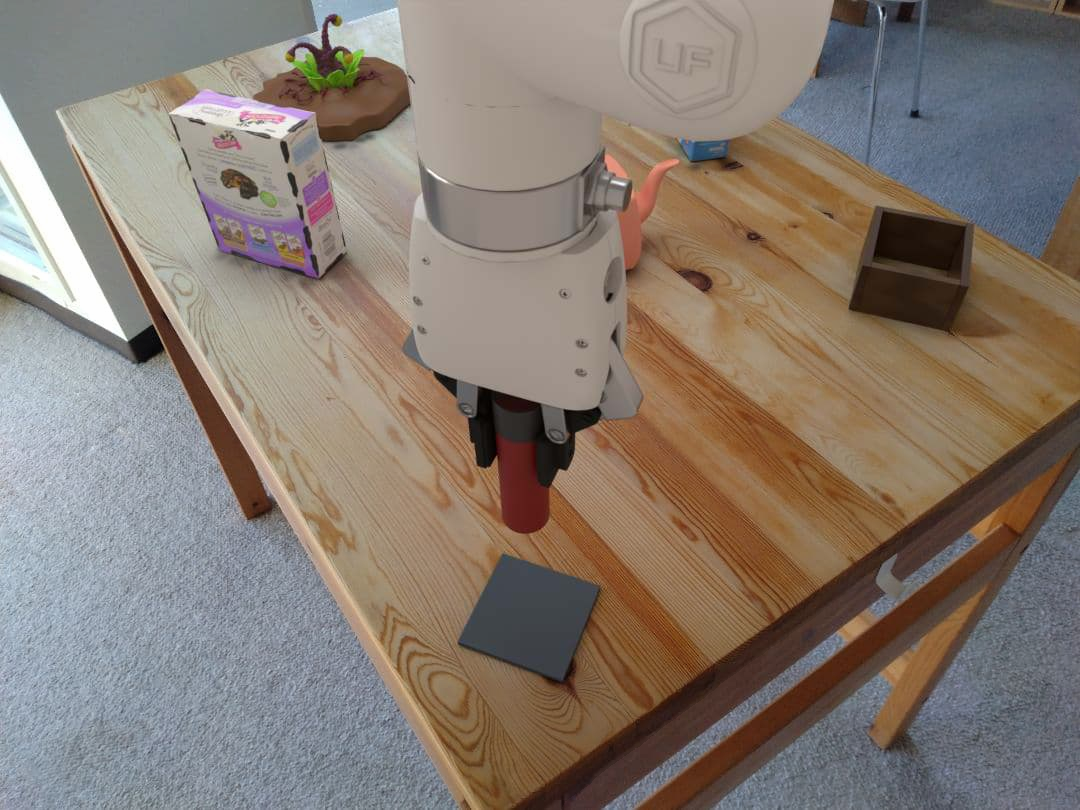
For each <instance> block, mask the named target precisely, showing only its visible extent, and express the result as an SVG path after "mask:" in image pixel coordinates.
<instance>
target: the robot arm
mask: <svg viewBox="0 0 1080 810" xmlns="http://www.w3.org/2000/svg"><path fill="white" fill-rule="evenodd" d="M396 4H397V11H398V21H399V26H400V35H401V42H402V48H403V49H402V50H403V55H404V56H403V57H404V64H405V74H406V75H407V80H408V87H409V95H410V102H411V103H410V107H411V108H410V109H411V116H412V123H413V130H414V137H415V145H416V151H417V152H416V153H417V162H418V163H417V164H418V170H419V177H420V185H421V192H420V194H419V195H418V196H417V198H416V200H415V203H414V206H413V212H412V213H413V214H412V219H411V229H410V238H409V251H408V252H409V254H408V255H409V256H408V284H409V285H408V286H409V287H408V289H409V305H410V306H409V307H410V314H411V325H412V329H411V331H410V333H409V334H408V336H407V337H406V339H405V341H404V342H403V344H402V346H401V351H402V352H403V354H404V355H405V356H406V357H407V358H409V359H410V360H412V361H414V362H415V363H416V364H418V365H419V366H421V367H422V368H424V369H425V370H427V371H428V372H431V371H432V372H433V376H434V378H435V379H436V381H438V382H439V384H441V385H442V386H443V388H445V389H446V390H447V392H449V393H450V394H451V395H452V396H453V397H454V398H455V399H456V404H455V405H456V410H457V411H458V412H459V414H461V415H462V416H464V417H465V418H467V424H468V430H469V432H468V433H469V440H470V444H471V443H472V444H474V453H475V462H476V463H475V465H476V466H477V467H478V468H482V469H487V468H491V467H492V465H493V464H494V461H495V459H496V458H497V447H496V435H495V428H494V421H493V409H492V396H491V393H492V390H495V391H499V392H502V393H506V394H509V395H513V396H516V397H520V398H524V399H527V400H531V401H535V402H538V403H541V407H542V413H543V419H544V427H543V429H542V431H541V433H540V435H539V437H538V439H537V443H536V447H537V482H538V483H540V486H543V487H546V488H549V489H550V488H551V486H552V484H553V483H554V480H555V478H556V476H557V475H558V472H559V470H561V471H563V472H564V471H565V472H567V471H568V470H569V468H570V466H571V464H572V462H573V459H574V456H575V452H576V433H579V432H581V431H584V430H586V429H589V428H590V427H593V426H596V425H597V424H598V423H599V421H604V420H605V421H606V422H610V421H620V420H630V419H634V418H636V417H637V415H638V414H639V413H638V412H639V410H640V408H641V406H642V404H643V401H644V398H645V397H644V394H643V392H642V390H641V388H640V386H639V384H638V382H637V381H636V379H635V377H634V375H633V373H632V371H631V370H630V367H629V366H628V364H627V362H626V360H625V359H624V354H625V351H626V345H627V338H628V337H627V335H628V295H627V276H626V275H627V274H626V270H625V262H624V251H623V244H622V237H621V231H620V225H619V220H618V216H617V212H616V211H620V212H625V211H626V210H627V208H628V205H629V202H630V199H631V194H632V186H633V180H632V179H631V178H629V179H626V178H621V177H616V174H615V173H613V172H608V168H607V164H606V163H605V154H606V145H602V144H601V143H602V127H603V126H602V123H603V122H602V121H603V115H604V116H607V117H609V118H612V119H615V120H617V121H620V122H623V123H625V124H628V125H630V126H634V127H636V128H639V129H642V130H643V131H644V130H645V131H648V132H650V133H654V134H658V135H660V136H661V135H662V136H664V137H668V138H674V139H676V140H677V139H684V140H692V141H720V140H727V139H729V140H732V139H735V138H739V137H743V136H746V135H748V134H750V133H753V132H756V131H757V130H759V129H761V128H764V126H767V125H768V124H770V123H771V122H773V121H774V120H775V119H777V118H778V117H779V116H780V115H781V114H783V113H784V112H785V111H786V110H787V109H788V108H789V107H790V106H791V105H792V104H793V103H794V102H795V100H796V99H797V98H798V97H799V95H800V94H801V93H802V92H803V91H804V89H805V87H806V85H807V84H808V82H809V81H810V79H811V77H812V75H813V73H814V70H815V68H816V66H817V64H818V62H819V59H820V57H821V55H822V51H823V48H824V44H825V40H826V37H827V35H828V30H829V27H830V21H831V16H832V12H833V7H834V4H835V0H396Z"/></svg>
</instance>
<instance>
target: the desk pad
mask: <svg viewBox="0 0 1080 810" xmlns="http://www.w3.org/2000/svg"><path fill="white" fill-rule="evenodd" d="M600 590H601V585H600V584H597V583H594V582H590V581H588V580H584V579H582V578H578V577H575V576H572V575H570V574H566V573H563V572H560V571H557V570H555V569H552V568H548V567H545V566H543V565H540V564H536V563H533V562H530V561H527V560H524V559H522V558H518V557H516V556H512V555H509V554H507V553H501V555H500V557H499V559H498V561H497V563H496V564H495V567H494V569H493V571H492V573H491V575H490V576H489V579H488V581H487V582H486V585H485V587H484V588H483V591H482V592H481V594H480V596H479V598H478V601H477V602H476V604H475V606H474V608H473V610H472V612H471V614H470V616H469V618H468V620H467V622H466V624H465V626H464V627H463V630H462V632H461V634H460V636H459V638H458V639H457V644H458V645H459V646H462V647H465V648H467V649H470V650H473V651H475V652H478V653H480V654H482V655H485V656H486V655H487V656H489V657H492V658H493V659H497V660H500V661H502V662H505V663H507V664H511V665H513V666H516V667H518V668H521V669H524V670H527V671H530V672H531V673H535V674H538V675H541V676H543V677H546V678H549V679H551V680H554V681H557V682H559V683H564V680H565V678H566V676H567V673H568V671H569V668H570V665H571V663H572V660H573V658H574V655H575V653H576V651H577V648H578V645H579V643H580V641H581V638H582V635H583V633H584V630H585V628H586V626H587V623H588V620H589V618H590V615H591V613H592V611H593V609H594V606H595V603H596V600H597V598H598V595H599V593H600Z"/></svg>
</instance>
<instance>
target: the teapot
mask: <svg viewBox="0 0 1080 810" xmlns="http://www.w3.org/2000/svg"><path fill="white" fill-rule="evenodd" d="M605 163H606V164H607V168H608V172H613V173H615V174H616V177H621V178H626V179H630V178H629V176H628V174H627V173H626V172H625V170H624V169H623V167H622V166H621V165H620V164H619V163H618V161H617V160H616V159H615V158H614V157H612V156H611V155H610V154H608V153H605ZM679 163H680V160H679V159H677V158H671V159H667V160H664V161H661V162H659V163H657V164H656V165H655V166H654V167H653V168H651V171H650V172H649V173H648V176H647V177H646V179H645V182H644V183H643V185H642V187H641V188H640V189H639V190H638V192H635V189H634V186H633V185H632V194H631V199H630V202H629V205H628V208H627V210H626V211H625V212H620V211H616V212H617V216H618V220H619V225H620V231H621V237H622V244H623V251H624V262H625V271H628V270H631V269H634V268H635V267H636V266H637V263H638V262H639V260H640V258H641V255H642V247H643V246H642V243H643V235H642V234H643V233H642V224H643V223H645V221H646V220H648V218H649V217H650V216H651V214H652V212H653V211H654V208H655V206H656V203H657V198H658V194H659V191H660V187H661V183H662V181H663V179H664V177H665V176H666V174H667V173H668V172H669V171H671V169H673V168H674V167H675V166H677V165H678V164H679Z"/></svg>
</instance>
